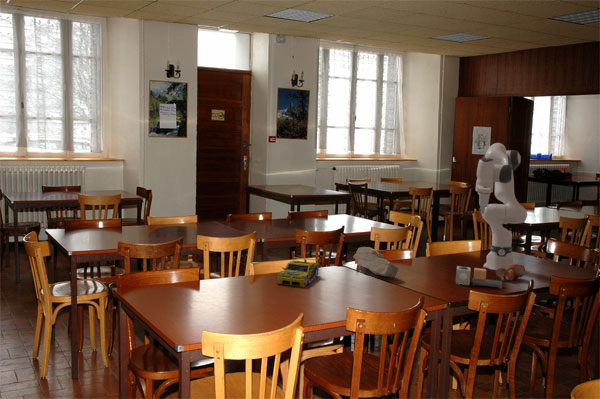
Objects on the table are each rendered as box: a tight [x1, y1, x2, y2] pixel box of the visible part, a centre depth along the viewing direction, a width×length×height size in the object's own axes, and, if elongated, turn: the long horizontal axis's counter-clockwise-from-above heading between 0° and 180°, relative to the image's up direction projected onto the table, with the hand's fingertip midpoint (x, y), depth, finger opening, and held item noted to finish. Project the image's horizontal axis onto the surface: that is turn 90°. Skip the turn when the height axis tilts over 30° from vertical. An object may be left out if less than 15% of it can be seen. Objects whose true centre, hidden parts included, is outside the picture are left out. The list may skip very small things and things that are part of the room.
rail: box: [471, 277, 503, 289], centre depth 312 cm, size 6×15×3 cm, turn 75°
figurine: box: [495, 263, 526, 282], centre depth 326 cm, size 20×9×15 cm
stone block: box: [353, 246, 400, 278], centre depth 328 cm, size 34×10×15 cm
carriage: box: [473, 267, 487, 284], centre depth 312 cm, size 5×6×7 cm
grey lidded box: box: [455, 265, 471, 286], centre depth 314 cm, size 8×7×8 cm
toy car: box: [276, 254, 320, 288], centre depth 306 cm, size 16×27×10 cm, turn 163°
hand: (482, 213), depth 316 cm, fingers closed
